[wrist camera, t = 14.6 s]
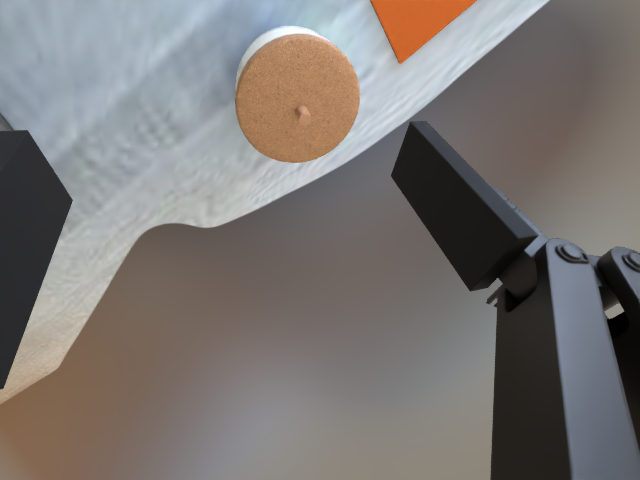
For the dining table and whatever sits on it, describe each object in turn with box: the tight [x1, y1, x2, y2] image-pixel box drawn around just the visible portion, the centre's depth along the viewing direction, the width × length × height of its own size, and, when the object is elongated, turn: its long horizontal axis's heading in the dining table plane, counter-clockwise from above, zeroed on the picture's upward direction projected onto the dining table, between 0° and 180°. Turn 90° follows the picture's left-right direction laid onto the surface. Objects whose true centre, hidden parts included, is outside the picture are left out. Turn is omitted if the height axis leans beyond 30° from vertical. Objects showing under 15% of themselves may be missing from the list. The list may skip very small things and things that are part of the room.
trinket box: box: [235, 26, 360, 163], centre depth 27 cm, size 11×11×9 cm
